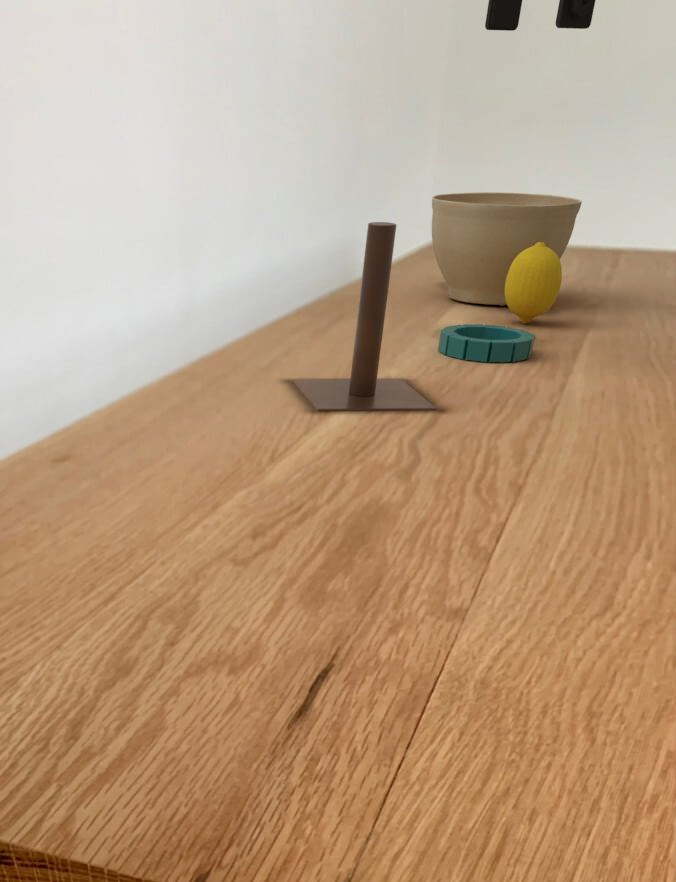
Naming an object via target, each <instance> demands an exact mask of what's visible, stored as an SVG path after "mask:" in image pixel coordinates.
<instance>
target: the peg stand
mask: <svg viewBox="0 0 676 882" xmlns="http://www.w3.org/2000/svg"><path fill="white" fill-rule="evenodd" d="M396 232H397V223H394V222H387V221H372V222H368V223H367V230H366V240H365V247H364V257H363V266H362V275H361V282H360V290H359V291H360V292H359V300H358V309H357V318H356V325H355V326H356V327H355V336H354V344H353V354H352V361H351V370H350V379H293V381H292V383H293V384H294V386H295V387H296V388H297V389H298V390H299V391H300V393H301V394H302V395H303V396H304V398H305V399H306V400H307V401H308V402H309V404H310V405H311V406H312V407H313V409H314V410H315V411H316V412H321V413H322V412H412V411H413V412H424V411H425V412H427V411H428V412H430V411H433V412H434V411H437V407H436V406H434V405H433V404H432V403H431V402H430V401H428V400H427V399H426V398H425V397H424V396H423V395H421V394H420V393H419V392H418V391H417V390H416V389H414V388H413V386H410V384H408V383H407V382H406V381H405V380H404V379H402V378H393V379H392V378H391V379H390V378H388V379H387V378H382V379H381V378H378V374H379V366H380V358H381V351H382V343H383V333H384V327H385V318H386V310H387V309H386V308H387V304H388V303H387V302H388V296H389V286H390V279H391V271H392V263H393V256H394V248H395V240H396Z"/></svg>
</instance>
